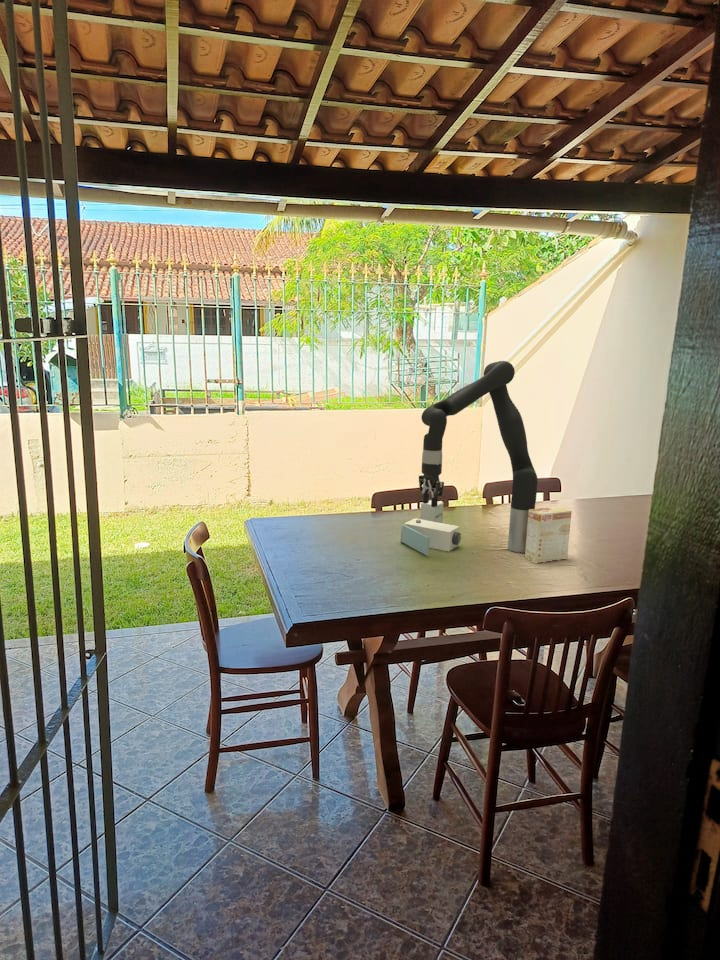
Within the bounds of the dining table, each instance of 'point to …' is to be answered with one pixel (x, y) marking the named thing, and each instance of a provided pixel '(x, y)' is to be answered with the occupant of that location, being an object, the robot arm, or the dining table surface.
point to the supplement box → (432, 512)
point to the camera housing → (437, 533)
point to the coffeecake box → (548, 534)
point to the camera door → (415, 539)
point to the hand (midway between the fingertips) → (429, 504)
